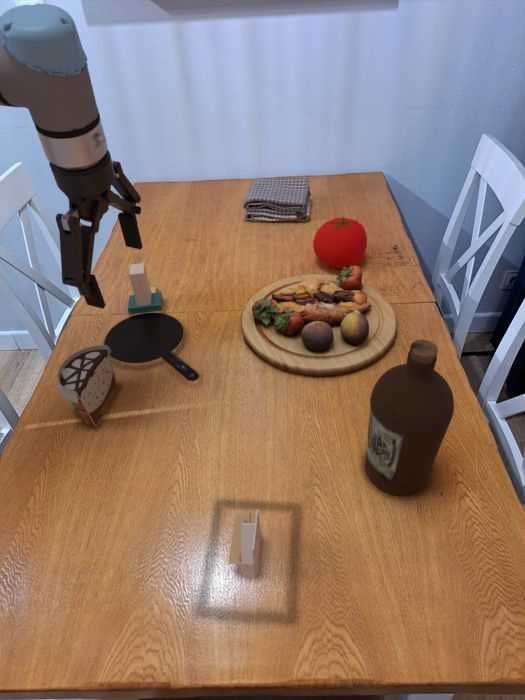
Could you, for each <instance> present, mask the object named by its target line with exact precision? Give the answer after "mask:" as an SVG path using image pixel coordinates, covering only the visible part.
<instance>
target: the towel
mask: <svg viewBox="0 0 525 700" xmlns="http://www.w3.org/2000/svg"><path fill="white" fill-rule="evenodd" d="M309 182H310V181H309V178H308V177H307V176H306V177H290V178H289V177H258V178H256V179H254V180H253V181H252V182H251V183H250V184H249V187H248V192H247V194H246V196H245V199H244V202H243V205H242V208H243V209H244V210H245V213H244V220H245V221H250V222H304V223H306V222H308V221H309V218H310V213H311V195H312V193H311V188H310V185H309Z"/></svg>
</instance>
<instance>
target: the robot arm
mask: <svg viewBox="0 0 525 700" xmlns="http://www.w3.org/2000/svg"><path fill="white" fill-rule="evenodd" d="M80 38H81V37H80V35H79V32H78V28H77V26H76V23H75V21H74V19H73V17H72V16H71V15H70V13H69V12H67V11H66V10H65V9H63V8H61V7H59V6H57V5H54V4H49V3H35V4H21V5H18V6H14V7H12V8H10V9H7V10H6V11H4V12H3V13H2V14H1V16H0V107H9V108H25V109H27V110H28V111H29V114H30V118H31V120H32V122H33V124H34V127H35V130H36V133H37V135H38V138H39V142H40V145H41V147H42V149H43V152H44V155H45V157H46V159H47V161H48V163H49V168H50V170H51V173H52V175H53V178H54V181H55V183H56V186H57V188H58V189H59V190H60V191H61V192H62V193H63V194H64V195H65V196H66V197H67V199H68V211H66V212H65V213H56V215H55V222H56V225H57V228H58V233H59V249H60V266H61V267H60V269H61V282H62V284H63V285H66V286H68V287H69V286H70V287H74V288H77V289H78V292H79V294H80V295H81V296H83V298H84V301H85V303H86V305H87V306H91V307H94V308H99V309H103V310H104V309H105V307H106V306H107V304H106V302H105V300H104V296H103V294H102V291H101V288H100V285H99V282H98V280H97V278H96V275H95V274H93V273H92V265H93V257H94V249H95V239H96V237H95V236H96V234H98V233H99V231H100V225H101V220H102V219H103V217H104V215H105V214H107V212H108V211H109V209H110V207H112V208H114V209H116V210H118V211H121V212H119V213H117V219H118V222H119V225H120V226H119V227H120V229H121V233H122V236H123V237H122V238H123V241H124V244H125V247H127V248H132V249H136V250H142V248H143V247H144V246H143V242H142V238H141V233H140V229H139V224H138V220H137V219H138V218H137V215H141V214H142V207H141V206H138V205H137V204H140V203H141V201H142V197H141V195H140V193H139V192H138V191H137V190H136V188H135V187H134V185H133V184H132V183H131V181H130V179H128V177H127V176H126V174H125V173H124V170H123V167H122V164H121V162H120V161H116V160H112V155H111V152H110V151H109V149H108V148H109V147H108V142H107V138H106V134H105V131H104V127H103V123H102V120H101V115H100V111H99V108H98V105H97V100H96V96H95V92H94V88H93V84H92V80H91V76H90V70H89V67H88V66H89V65H88V56H87V54H86V52H85V50H84V48H83V44H82V41H81V39H80ZM112 187H113V188H114V190H115V191H116V192H117V193H115V192H114V191H113V190H112ZM81 220H82V221H84V222H87V223H90V225H87V224H82V222H81Z"/></svg>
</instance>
